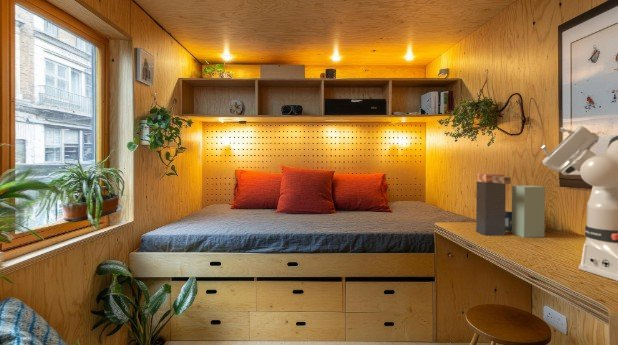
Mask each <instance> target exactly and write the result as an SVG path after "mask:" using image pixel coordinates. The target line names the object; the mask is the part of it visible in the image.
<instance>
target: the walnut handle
mask: <svg viewBox="0 0 618 345" xmlns="http://www.w3.org/2000/svg"><path fill="white" fill-rule="evenodd" d="M511 179H512V177H510V176H505V174H504V173H496V172H495V173H492V172H491V173H477V182H486V183H491V182H492V183H501V184H506V185H511V184H512V183H511V182H512V181H511Z"/></svg>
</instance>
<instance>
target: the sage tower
mask: <svg viewBox="0 0 618 345" xmlns="http://www.w3.org/2000/svg"><path fill="white" fill-rule="evenodd" d="M511 212H512V232H511V234H512V235H516V236H518V237H521V238H525V239H526V238H527V239H528V238H545V226H546V224H545V223H546V221H545V220H546V216H545V215H546V214H545V212H546V186H539V185H529V184H528V185H512V186H511Z"/></svg>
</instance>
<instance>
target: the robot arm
mask: <svg viewBox="0 0 618 345" xmlns="http://www.w3.org/2000/svg"><path fill="white" fill-rule="evenodd" d="M558 131H559V132H561V133H563V134H564V133H568V134H569V135H567V136H566V137H565V138H564V139H563V140H562V141H561V142H560V143H559V144H558V145H557V146H556V147H555V148H553V150H552V151H551V152H548V151H547V149H548V147H547V146H545V145H544V144H543V145H542V146H540V148H541V149H542V150H543V152H544V155H546V157H544V159H542V160H541V162H542V164H543V166H545V167H547V168H548V169H550V170H553V171H554V172H558V173H560V174H562V175H564V176H568V175H570V174H572V173H573V172H576V171H577V172H579V173H580V177H581V179H582V180H583V181H584V182H585V183H587V185H590V186H591V187H592V188H591V192H590V196H589V199H588V200H587V204H586V205H587V206H586V225H585V227H584V228H585V229H584V236H585V240H584V244H583V247H582V255H581V261H580V264H579V265H578V269H579V270H582V271H584V272H588V273H590V274H594V275H597V276H599V277H600V276H601V277H604V278H607V279H611V280H613V281H616V282H618V135H616V136H614V137H612V138H610V140H609V142H608V145H607V147H606V151H605V152H604V154H603V153H602V154H596V153H594V152H593V151H592V150H591V149H592V148H594V146H595V145H596V144H598V142H599V139H600V136H599V135H598V134H596V133H595V132H591V131H590V130H589V129H588V128H587V127H585V126H583V125H578V126H576V128H575V129H574V130H571V129H565V128H564V127H560V128H559V129H558Z"/></svg>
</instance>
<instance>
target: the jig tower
mask: <svg viewBox="0 0 618 345" xmlns="http://www.w3.org/2000/svg"><path fill="white" fill-rule="evenodd" d="M506 185H507V184H501V183H492V182H491V183H486V182H478V181H476V205H475V206H476V208H475V209H476V211H475V212H476V214H475V215H476V217H475V218H476V220H475V221H476V222H475V223H476V224H475V225H476V226H475V228H476V229H475V232H476V233H477V234H481V235H483V236H485V237H486V236H506V231H505V211H506V200H507V199H506V197H507V196H506V195H507V194H506V192H507V190H506V187H507V186H506Z"/></svg>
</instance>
